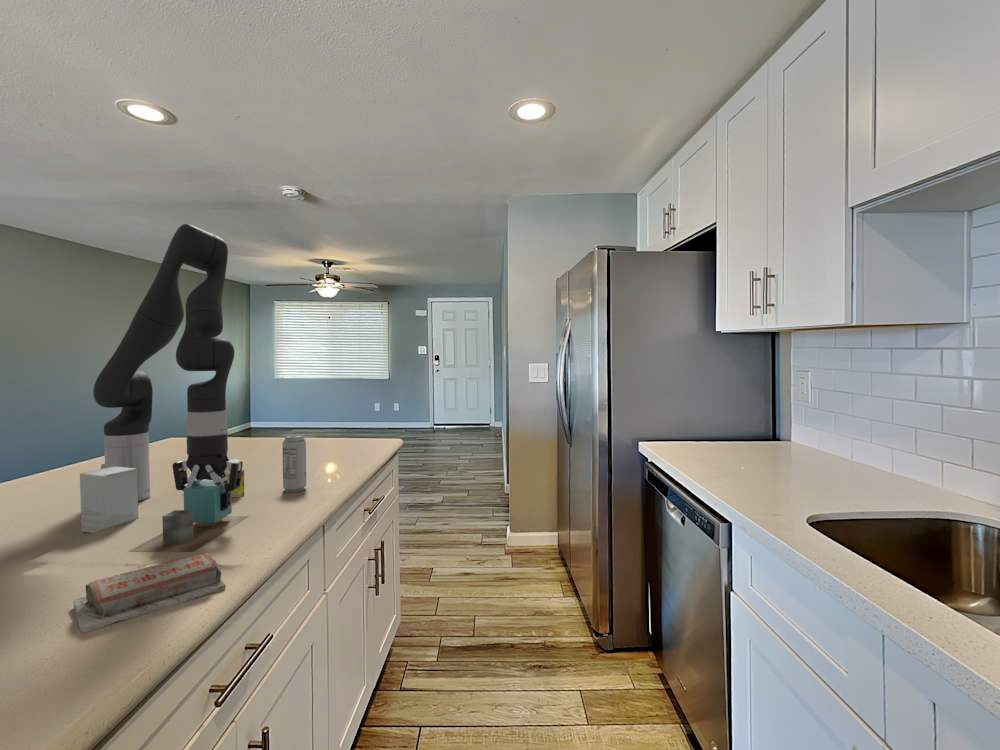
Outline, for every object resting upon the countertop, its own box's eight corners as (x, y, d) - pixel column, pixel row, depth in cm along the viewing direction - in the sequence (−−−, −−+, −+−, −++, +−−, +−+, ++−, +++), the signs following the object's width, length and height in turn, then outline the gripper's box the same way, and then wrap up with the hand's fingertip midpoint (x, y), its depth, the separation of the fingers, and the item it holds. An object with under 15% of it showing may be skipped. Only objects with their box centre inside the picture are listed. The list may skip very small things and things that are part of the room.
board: (128, 559, 91) (127, 521, 91) (195, 522, 111) (195, 491, 111) (193, 559, 91) (192, 522, 91) (248, 522, 111) (248, 491, 111)
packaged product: (206, 545, 87) (225, 562, 80) (207, 572, 87) (226, 592, 80) (71, 578, 74) (80, 602, 67) (72, 610, 74) (81, 637, 67)
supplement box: (140, 524, 110) (138, 468, 109) (103, 536, 102) (102, 475, 102) (116, 520, 112) (115, 465, 111) (79, 531, 105) (78, 472, 104)
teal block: (184, 522, 103) (183, 489, 102) (202, 512, 109) (202, 481, 109) (214, 522, 103) (214, 489, 102) (231, 512, 109) (231, 481, 109)
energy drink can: (310, 488, 139) (310, 435, 138) (291, 493, 134) (291, 439, 133) (297, 485, 142) (297, 433, 142) (278, 490, 137) (277, 436, 137)
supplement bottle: (246, 500, 128) (246, 461, 127) (222, 504, 124) (221, 464, 124) (241, 495, 132) (241, 457, 132) (218, 499, 129) (217, 460, 128)
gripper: (161, 434, 102) (163, 515, 102) (231, 435, 101) (232, 515, 102) (184, 428, 109) (186, 504, 110) (250, 429, 109) (251, 504, 110)
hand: (208, 509), depth 106 cm, fingers closed on teal block, 6 cm apart
